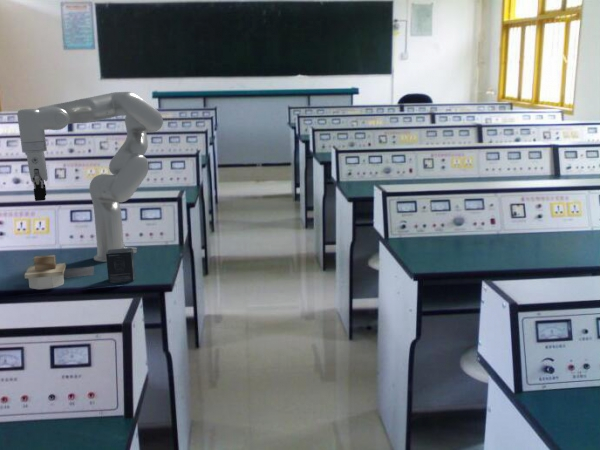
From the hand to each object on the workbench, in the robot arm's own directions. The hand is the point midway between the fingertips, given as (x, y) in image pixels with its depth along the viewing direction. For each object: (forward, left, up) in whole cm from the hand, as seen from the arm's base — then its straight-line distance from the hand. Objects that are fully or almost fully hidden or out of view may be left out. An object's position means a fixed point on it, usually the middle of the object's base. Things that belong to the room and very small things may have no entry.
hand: (40, 198), depth 207 cm
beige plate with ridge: (-1, +15, -22) cm, 27 cm away
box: (-24, +19, -27) cm, 40 cm away
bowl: (-1, +16, -26) cm, 31 cm away
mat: (-9, +4, -26) cm, 28 cm away
